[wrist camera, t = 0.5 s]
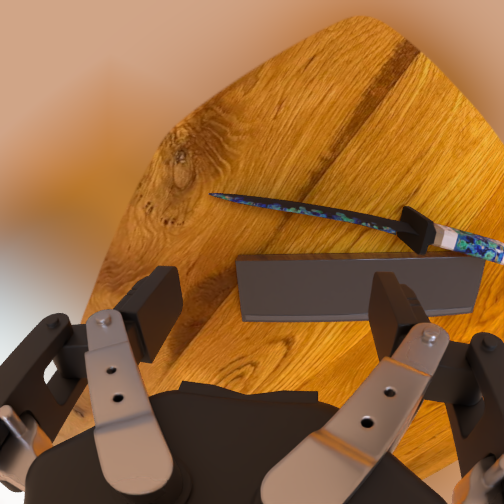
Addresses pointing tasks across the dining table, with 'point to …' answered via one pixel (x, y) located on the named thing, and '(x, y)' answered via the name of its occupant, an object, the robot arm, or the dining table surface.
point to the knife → (391, 227)
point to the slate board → (351, 284)
